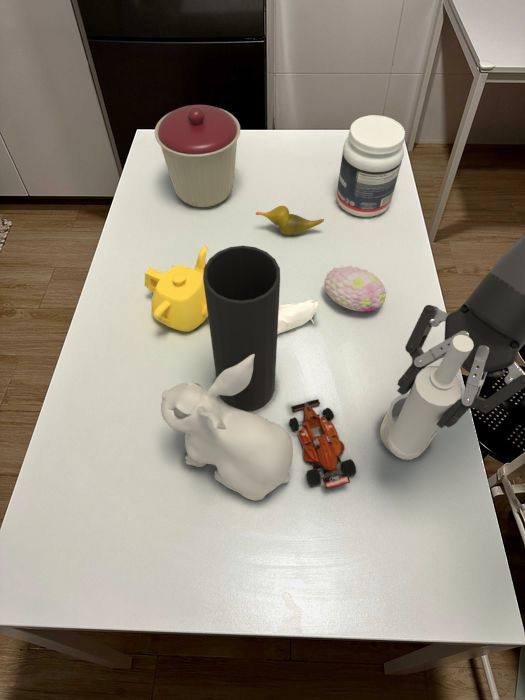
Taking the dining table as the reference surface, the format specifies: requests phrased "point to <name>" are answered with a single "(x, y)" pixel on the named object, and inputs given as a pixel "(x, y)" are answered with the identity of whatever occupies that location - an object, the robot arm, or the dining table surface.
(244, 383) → the rabbit
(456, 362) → the bottle
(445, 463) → the dining table surface
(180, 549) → the dining table surface
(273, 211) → the olive yellow toy bird
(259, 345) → the vase
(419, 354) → the robot arm
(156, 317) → the teapot
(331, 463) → the toy car
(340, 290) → the decorative item
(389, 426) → the stand
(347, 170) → the supplement tub
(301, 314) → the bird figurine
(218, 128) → the canister
